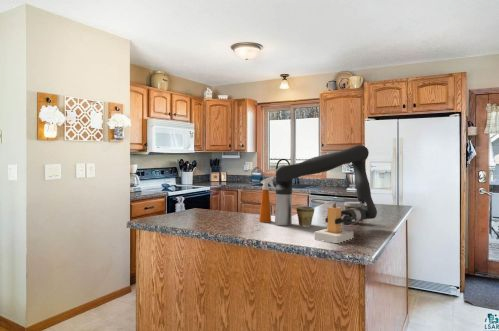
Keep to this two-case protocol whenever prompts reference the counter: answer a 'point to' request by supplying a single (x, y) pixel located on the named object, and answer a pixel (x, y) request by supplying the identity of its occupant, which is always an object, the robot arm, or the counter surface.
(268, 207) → the spray bottle
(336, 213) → the plug
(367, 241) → the counter surface
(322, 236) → the socket
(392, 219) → the counter surface
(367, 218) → the robot arm
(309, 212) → the olive green flower pot
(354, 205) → the disposable coffee cup
